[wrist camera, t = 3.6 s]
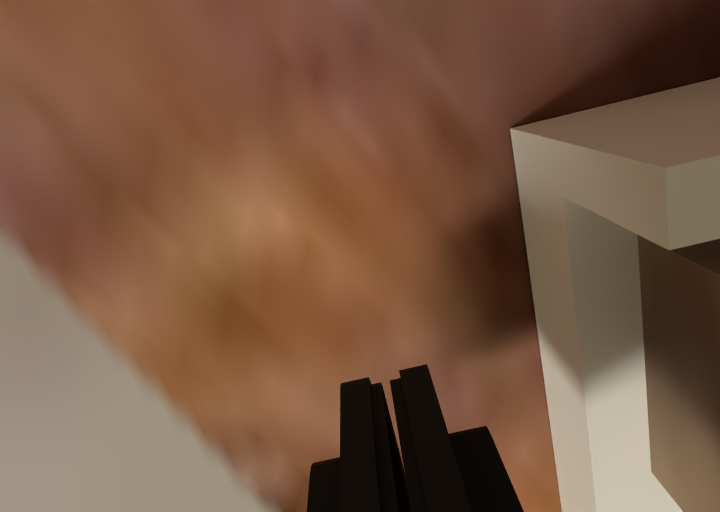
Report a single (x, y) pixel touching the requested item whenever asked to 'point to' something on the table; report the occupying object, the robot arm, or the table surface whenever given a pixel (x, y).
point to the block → (683, 369)
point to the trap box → (610, 272)
